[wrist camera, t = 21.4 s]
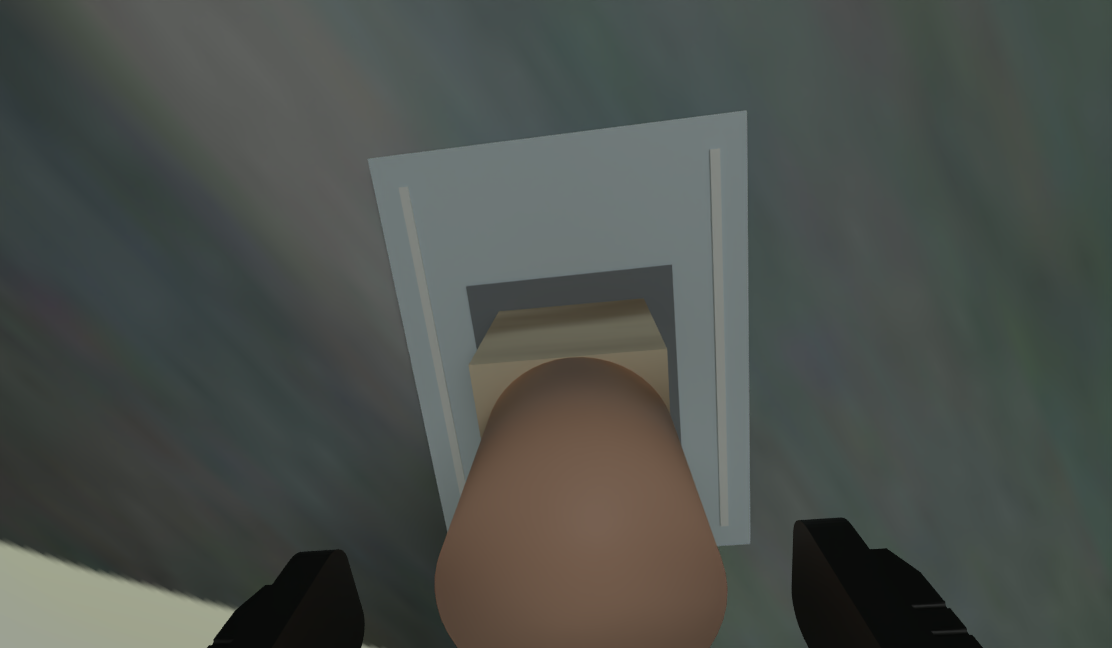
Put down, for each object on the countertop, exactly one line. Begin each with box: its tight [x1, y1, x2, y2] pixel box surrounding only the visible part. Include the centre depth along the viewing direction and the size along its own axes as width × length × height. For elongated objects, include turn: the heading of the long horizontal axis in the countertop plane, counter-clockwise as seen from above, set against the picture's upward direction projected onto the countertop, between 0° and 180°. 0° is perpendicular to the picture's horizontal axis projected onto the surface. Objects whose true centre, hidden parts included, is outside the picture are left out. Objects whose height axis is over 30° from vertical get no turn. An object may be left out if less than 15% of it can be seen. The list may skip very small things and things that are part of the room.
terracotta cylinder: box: [435, 357, 727, 648], centre depth 11 cm, size 5×5×5 cm
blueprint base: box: [368, 110, 750, 546], centre depth 19 cm, size 16×12×1 cm
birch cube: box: [468, 298, 670, 439], centre depth 16 cm, size 5×5×5 cm
